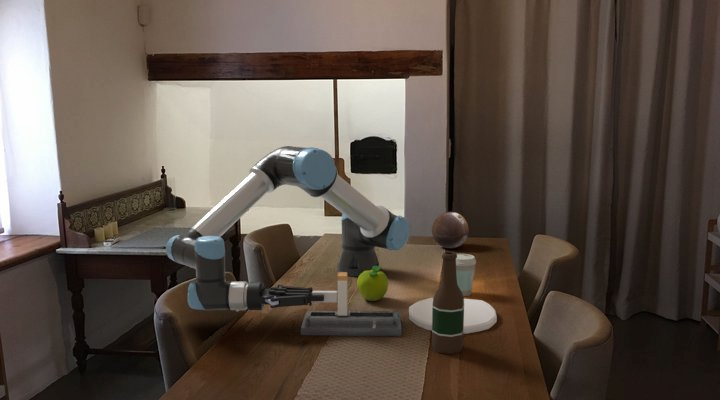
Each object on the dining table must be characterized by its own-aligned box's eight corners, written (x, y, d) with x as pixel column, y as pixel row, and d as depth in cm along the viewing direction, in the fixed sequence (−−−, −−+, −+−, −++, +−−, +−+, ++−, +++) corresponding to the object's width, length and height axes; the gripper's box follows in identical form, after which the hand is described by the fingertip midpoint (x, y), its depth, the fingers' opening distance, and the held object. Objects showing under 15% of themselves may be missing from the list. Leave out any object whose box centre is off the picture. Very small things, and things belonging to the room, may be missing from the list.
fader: (334, 321, 168) (334, 276, 166) (335, 316, 172) (335, 272, 170) (349, 321, 168) (349, 276, 166) (350, 316, 172) (350, 272, 170)
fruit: (391, 296, 197) (391, 265, 195) (382, 305, 188) (382, 273, 187) (363, 293, 200) (363, 262, 198) (353, 302, 191) (353, 270, 190)
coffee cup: (475, 298, 195) (476, 260, 193) (447, 296, 197) (447, 259, 195) (475, 290, 203) (476, 253, 201) (448, 288, 205) (449, 252, 203)
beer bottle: (428, 343, 159) (430, 249, 156) (459, 342, 160) (461, 248, 156) (434, 355, 152) (436, 257, 148) (467, 354, 152) (469, 256, 149)
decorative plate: (420, 287, 194) (503, 296, 185) (420, 300, 194) (502, 309, 186) (396, 313, 171) (489, 324, 162) (396, 328, 171) (489, 339, 163)
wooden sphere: (462, 253, 252) (463, 216, 250) (426, 250, 258) (427, 213, 256) (472, 245, 265) (473, 210, 263) (438, 242, 272) (438, 208, 269)
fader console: (300, 335, 165) (300, 321, 164) (305, 319, 176) (305, 306, 176) (401, 336, 164) (401, 322, 163) (399, 320, 176) (399, 307, 175)
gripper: (253, 301, 176) (338, 302, 175) (243, 317, 163) (335, 318, 162) (252, 275, 174) (338, 276, 174) (242, 289, 162) (335, 290, 161)
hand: (336, 296), depth 168 cm, fingers closed
